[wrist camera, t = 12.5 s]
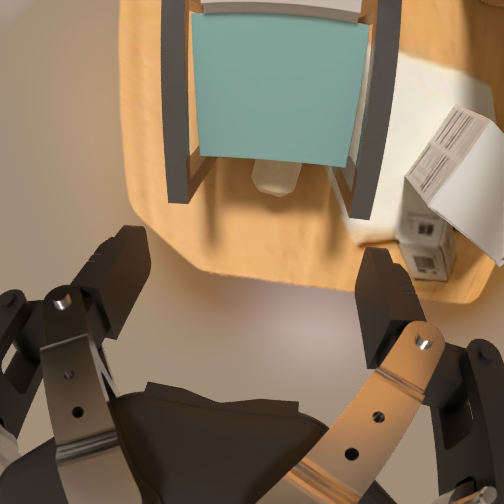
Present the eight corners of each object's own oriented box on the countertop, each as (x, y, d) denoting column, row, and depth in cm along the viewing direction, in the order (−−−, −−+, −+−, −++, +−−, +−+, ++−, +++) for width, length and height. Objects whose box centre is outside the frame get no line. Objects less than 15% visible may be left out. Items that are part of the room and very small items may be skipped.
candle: (311, 127, 31) (286, 209, 37) (317, 120, 36) (295, 192, 42) (261, 112, 32) (242, 193, 38) (273, 107, 36) (255, 178, 42)
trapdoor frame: (202, 0, 29) (162, -21, 18) (366, 11, 27) (402, -6, 17) (201, 158, 41) (168, 202, 30) (347, 170, 40) (369, 220, 29)
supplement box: (520, 172, 35) (554, 200, 27) (474, 233, 42) (500, 269, 35) (454, 101, 32) (492, 117, 24) (402, 176, 39) (427, 208, 31)
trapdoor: (195, -22, 19) (187, -23, 17) (369, -12, 18) (376, -12, 16) (204, 147, 31) (198, 160, 30) (343, 159, 31) (346, 172, 29)
